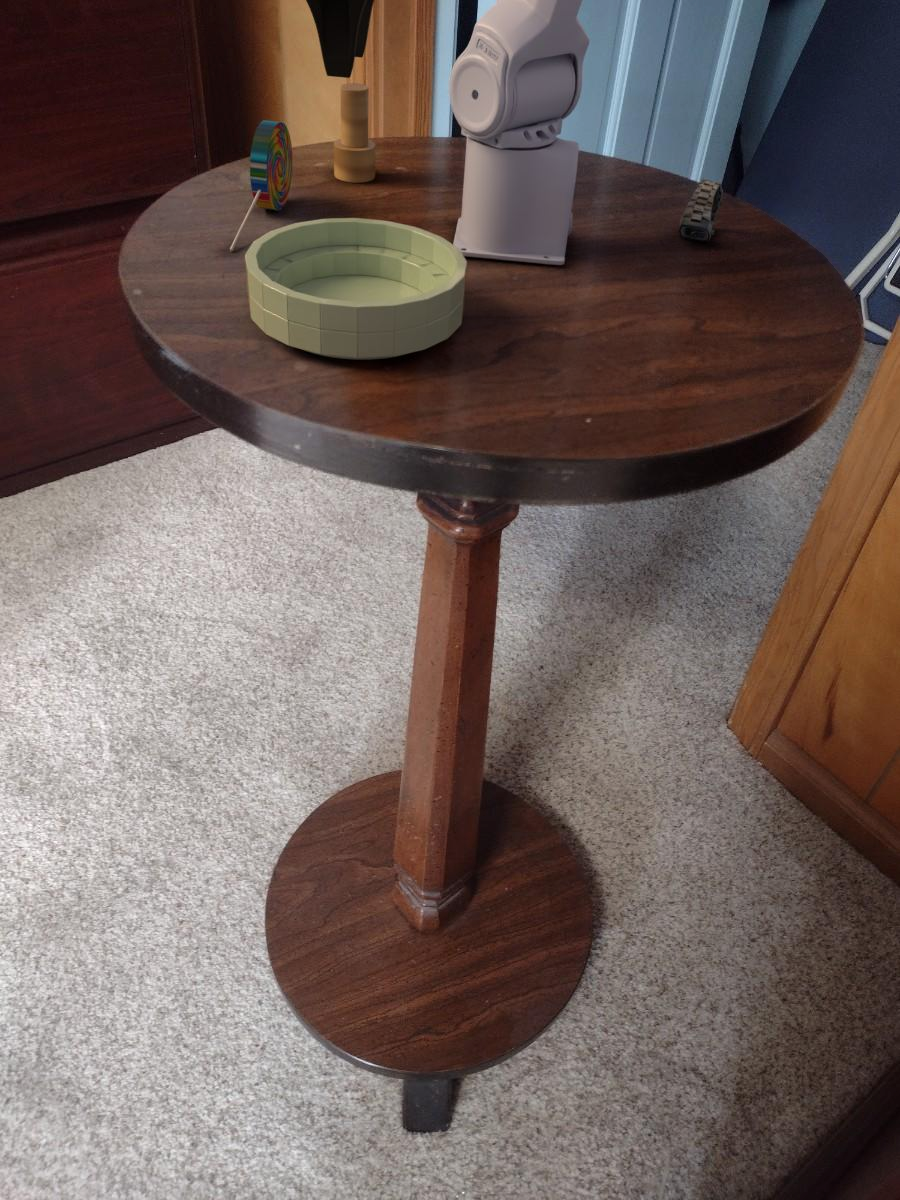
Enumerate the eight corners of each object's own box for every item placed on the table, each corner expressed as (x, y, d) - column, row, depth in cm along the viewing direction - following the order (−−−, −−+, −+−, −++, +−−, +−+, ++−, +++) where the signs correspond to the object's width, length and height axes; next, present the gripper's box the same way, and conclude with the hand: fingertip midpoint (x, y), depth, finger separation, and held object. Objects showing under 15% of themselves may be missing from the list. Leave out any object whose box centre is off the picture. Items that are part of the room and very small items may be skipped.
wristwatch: (677, 247, 90) (678, 219, 85) (702, 199, 90) (705, 168, 86) (708, 259, 89) (710, 231, 85) (733, 211, 90) (737, 180, 85)
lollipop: (230, 284, 82) (281, 176, 90) (246, 286, 82) (296, 178, 90) (213, 211, 76) (269, 103, 84) (231, 213, 76) (285, 105, 84)
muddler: (377, 171, 97) (378, 83, 91) (372, 184, 94) (372, 94, 88) (337, 167, 97) (336, 79, 91) (331, 180, 94) (329, 90, 88)
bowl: (468, 284, 78) (473, 228, 75) (453, 378, 66) (458, 316, 63) (275, 266, 78) (272, 209, 75) (226, 356, 66) (220, 293, 63)
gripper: (312, -132, 85) (316, 43, 94) (277, -115, 74) (285, 81, 83) (392, -125, 85) (388, 50, 94) (369, -107, 74) (367, 89, 83)
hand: (345, 65), depth 88 cm, fingers open, 7 cm apart
